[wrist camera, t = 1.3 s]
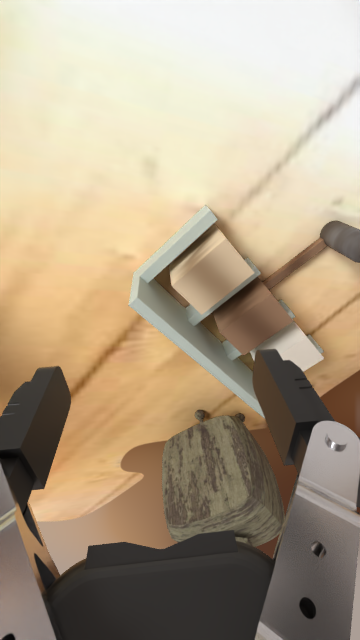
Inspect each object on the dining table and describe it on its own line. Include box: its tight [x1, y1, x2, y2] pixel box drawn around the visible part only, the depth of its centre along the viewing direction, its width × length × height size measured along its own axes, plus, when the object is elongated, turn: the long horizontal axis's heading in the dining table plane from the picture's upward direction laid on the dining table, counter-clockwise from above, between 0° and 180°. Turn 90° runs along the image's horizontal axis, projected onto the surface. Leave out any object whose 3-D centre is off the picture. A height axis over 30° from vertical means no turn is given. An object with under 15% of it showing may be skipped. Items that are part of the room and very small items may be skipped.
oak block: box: [169, 224, 254, 315], centre depth 31 cm, size 7×5×6 cm
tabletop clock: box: [162, 410, 284, 547], centre depth 38 cm, size 14×9×25 cm, turn 120°
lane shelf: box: [129, 205, 324, 418], centre depth 34 cm, size 11×25×8 cm, turn 42°
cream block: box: [250, 319, 324, 372], centre depth 38 cm, size 7×5×6 cm
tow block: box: [212, 221, 360, 356], centre depth 32 cm, size 18×5×6 cm, turn 132°
